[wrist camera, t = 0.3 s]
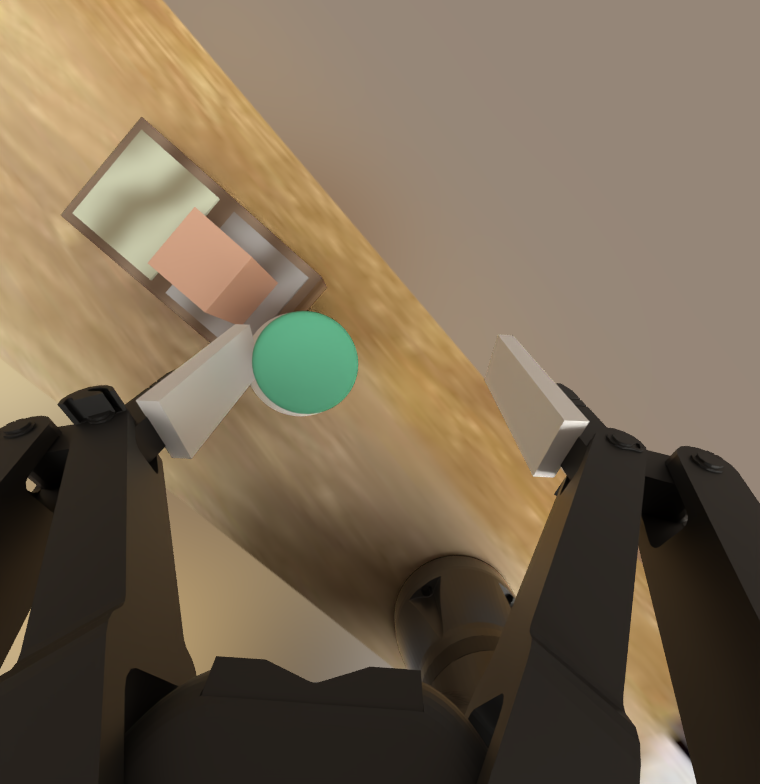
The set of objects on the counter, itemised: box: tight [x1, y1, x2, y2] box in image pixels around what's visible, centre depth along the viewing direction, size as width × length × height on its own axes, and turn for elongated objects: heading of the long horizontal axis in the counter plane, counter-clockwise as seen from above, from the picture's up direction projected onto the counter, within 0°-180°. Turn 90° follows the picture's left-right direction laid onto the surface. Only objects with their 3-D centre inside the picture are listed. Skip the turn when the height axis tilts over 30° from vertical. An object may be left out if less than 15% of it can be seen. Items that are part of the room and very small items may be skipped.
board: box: [61, 117, 327, 343], centre depth 29 cm, size 24×13×3 cm, turn 49°
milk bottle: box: [250, 311, 358, 416], centre depth 21 cm, size 8×8×20 cm
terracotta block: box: [148, 207, 278, 324], centre depth 25 cm, size 6×6×6 cm
